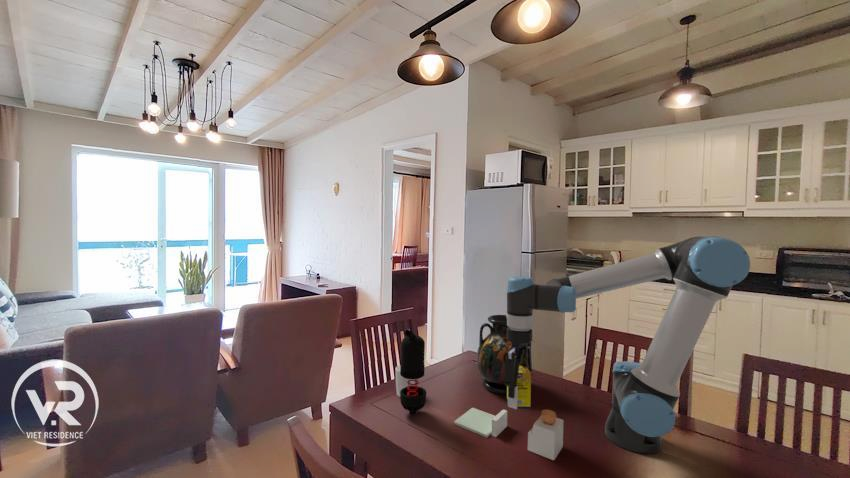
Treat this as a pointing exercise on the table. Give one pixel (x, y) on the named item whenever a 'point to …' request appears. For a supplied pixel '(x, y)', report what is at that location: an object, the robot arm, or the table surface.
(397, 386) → the white cup
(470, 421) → the pad
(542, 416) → the brown egg
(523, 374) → the supplement box
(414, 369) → the filter
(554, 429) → the dock
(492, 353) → the amphora vase
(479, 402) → the table surface
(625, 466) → the table surface
